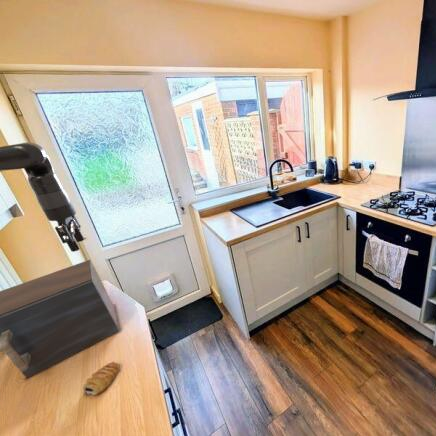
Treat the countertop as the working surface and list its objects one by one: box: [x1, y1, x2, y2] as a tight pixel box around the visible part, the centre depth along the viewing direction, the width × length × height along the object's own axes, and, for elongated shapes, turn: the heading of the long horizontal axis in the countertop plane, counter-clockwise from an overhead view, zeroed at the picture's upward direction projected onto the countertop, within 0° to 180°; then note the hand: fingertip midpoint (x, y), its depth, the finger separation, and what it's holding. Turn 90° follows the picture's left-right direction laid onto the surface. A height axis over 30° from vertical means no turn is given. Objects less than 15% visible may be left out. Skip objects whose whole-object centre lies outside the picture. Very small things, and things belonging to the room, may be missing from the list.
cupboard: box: [0, 259, 120, 329], centre depth 90 cm, size 18×26×24 cm
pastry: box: [82, 361, 120, 396], centre depth 76 cm, size 9×7×4 cm
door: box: [0, 280, 120, 379], centre depth 81 cm, size 7×26×24 cm, turn 129°
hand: (78, 245), depth 89 cm, fingers open, 8 cm apart
